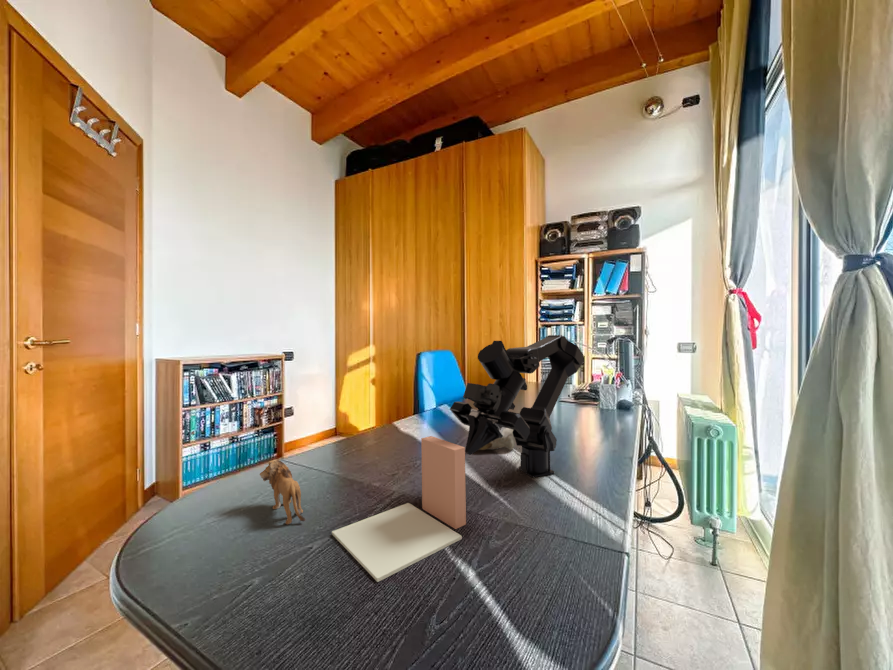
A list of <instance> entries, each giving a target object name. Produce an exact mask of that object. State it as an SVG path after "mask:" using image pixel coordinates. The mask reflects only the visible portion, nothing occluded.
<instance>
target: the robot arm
mask: <svg viewBox="0 0 893 670" xmlns="http://www.w3.org/2000/svg"><path fill="white" fill-rule="evenodd" d="M546 358H548V360H549V364H550V367H551V369H550V371H549V373H548V375H547V377H546V378H545V379H544V380H545V381H544V382H543V385H542V386H541V388H540V390H539V392H538V394H537V396H536V399H534V402H533V404H532V406H531V407H525V406H523V407H522V408H521V409H520V411H519V413H518V412H513V411H514V410H515V408H516V405H515V403H514V401H515V399H516V398H517V396H518V395H519V393H520V392H521V390H522V391H528V385H527V382H526V381H527V380H526V378H523V376H522V374H528V375H529V374H533V373H535V371H536V370H537V369H539V367H540V362H541V361H543V360H544V359H546ZM477 360H478V361H479V363H480V364H481V366H482V368H483V369H484V370H485V372H486V373H487V375H488V376H489V378H490V379H492V380H494V382H493V383H488V384H487V385H483V384H478V383H471V382H467V383H466V387H465V389H464V393H463V398H464V399H466V400H467V399H468V400H469V401H472V402H473V403H472V405H473V406H474V407H475V408H477V409H475V408H473V407H472V406H471V405H470V404H469V403H468V402H463V401H454V402H453V403H452V405H451V406H450V407H449V410H450V412H451V413H452V414H453V415H454V416H455V418H457V420H458V421H459V422H460V423H461V424H463V425H464V426H468V435H467V440H466V444H465V454H466V455H467V456H468V455H469V456H472V455H473V454H474V453H476V452H478V451H480V450H479V449H480V448H482V447H483V446H485V445H487V444H488V443H490V442H492V441H494V440H495V439H497V438H502V437H503V435H502V434H501V433H502V432H503V430H504V429H506V428H509V429H513V432H512V433H513V436H514V438H515V440H516V443H515V445H516V446H518V447H521V453H520V466H518V470H520V471H522V472H523V473H524V474H526V475H528V476H529V477H531V478H539V477H544V476H549V475H554V474H555V471H554V470H552V469H551V452H554V451H555V449H556V447H557V437H556V435H555V434H554V433H553V431H552V429H553V428H552V423H551V419H550V418H551V415H552V413H553V412H554V409H555V406H556V404H557V402H558V401H559V398H560V396H561V394H562V391H563V389H564V387H565V386H566V385H565V384H566V382H567V380H568V378H569V377H571V376H573V375H574V374H576V373H577V372H578V371H579V369H580V368H581V366H582V365H583V363H584V354H583V352H582V350H581V349H580V347H579V346H578V345H576V344H574V343H573V342H571V341H570V340H568V339H567V338H566V336H565V335H563V334H561V335H560V334H555V335H554V334H551V335H550V334H549V335H547V336H545V337H544V338H542V339H539V340H538V341H536V342H534V343H532V344H529V345H527V346H521V347H510V348H507V349H506V347H505V344H504V343H503V341H502V340H493V342H492V343H491V344H488V345H486V346H484V347H483V348H482V349H480V350H479V351H478V354H477ZM509 410H513V411H509Z"/></svg>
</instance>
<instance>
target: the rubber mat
mask: <svg viewBox="0 0 893 670" xmlns="http://www.w3.org/2000/svg"><path fill="white" fill-rule="evenodd" d="M331 535H332V536H333V538H335V540H337V541H338V542H339V544H341V545H342V547H343V548H345V550H346V551H347V552H348V553H349V554H350V555H351V556H352V558H354V559H355V560H356V561H357V563H358V564H359V565H361V566H362V567H363V569H364V570H365V571H366V572H367V573H368V574H369V575H370V576H371V577H372V578H373V579H374V580H375V582H377V583H379V582H381V581H383V580H385V579H387V578H388V577H391V576H393V575H394V574H396V573H399V572H400V571H402V570H404V569H406V568H408V567H410V566H411V565H414V564H416V563H418V562H420V561H421V560H423V559H426V558H428V557H429V556H431V555H434V554H435V553H437V552H440V551H442V550H443V549H445V548H448V546H451V545H453V544H454V543H456V542H459V541H461V540H462V538H463V537H462V536H463V535H461V534H459V533H458V532H456V531H454V530H453V529H451V528H450V527H448V526H447V525H445V524H443V522H442V523H441V522H440V521H439V520H437V519H435V518H433V517H432V516H430V515H429V514H427V513H426V512H424V511H423V510H421V509H420V508H417V506H414V505H413V504H411V503H409V502H407V503H404V504H400V505H398V506H396V507H393V508H391V509H388V510H386V511H383V512H380V513H377V514H375V515H372V516H370V517H367V518H364V519H362V520H359V521H356V522H354V523H351V524H349V525H345V526H342V527H340V528H338V529H334V530H332V531H331Z"/></svg>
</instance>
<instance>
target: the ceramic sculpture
mask: <svg viewBox="0 0 893 670" xmlns="http://www.w3.org/2000/svg"><path fill="white" fill-rule="evenodd" d="M512 432H513V429H509V428H506V429H504V430H503V432H502V433H501V434H502V435H503V437H502V438H497V439H495V440H494V441H492V442H490V443H488V444H487V445H485V446H483V447H482V448H480V449H479V450H478V451H485V450H497V448H498V449H501V448H506V449H508V450H509V451H512V450H513V449H514V448H515V445H516V440H515V438H514V436H513V433H512Z"/></svg>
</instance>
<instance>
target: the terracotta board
mask: <svg viewBox="0 0 893 670" xmlns="http://www.w3.org/2000/svg"><path fill="white" fill-rule="evenodd" d="M420 441H421V445H420V446H421V507H422V511H423V510H424V511H425V512H427V513H429V514H430V515H431V516H433V517H435V518H437V519H438V520H440V521H441V522H442V523H445V524H446V525H448V526H450V527H452V528H453V529H455V530H457V529H459V528H461V527H463V526H466V525H467V510H466V509H467V508H466V506H467V503H466V501H467V500H466V499H467V498H466V497H467V496H466V490H467V489H466V452H465V449H466V446H462V445H459V444H456V443H453V442H451V441H448V440H444V439H441V438H439V437H435V436H433V435H431V436H427V437H422V438H421V439H420Z"/></svg>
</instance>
